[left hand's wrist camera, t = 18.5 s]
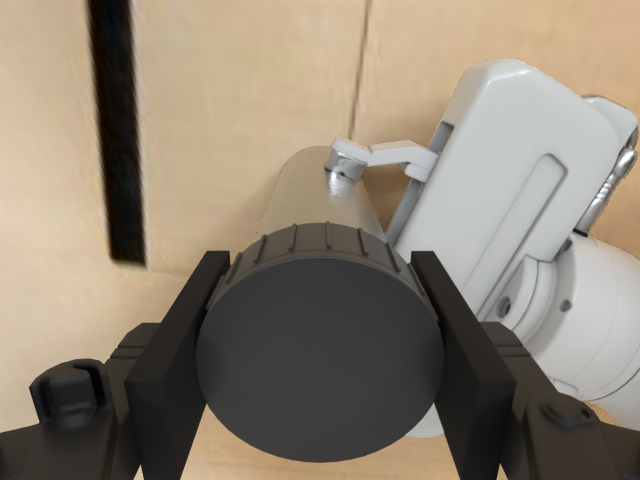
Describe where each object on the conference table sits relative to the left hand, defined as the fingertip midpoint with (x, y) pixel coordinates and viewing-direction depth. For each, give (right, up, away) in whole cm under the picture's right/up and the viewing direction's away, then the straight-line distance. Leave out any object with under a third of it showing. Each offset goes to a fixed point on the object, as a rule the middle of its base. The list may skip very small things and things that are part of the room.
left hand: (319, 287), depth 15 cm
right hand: (-1, +3, +7) cm, 7 cm away
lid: (0, -1, -4) cm, 4 cm away
